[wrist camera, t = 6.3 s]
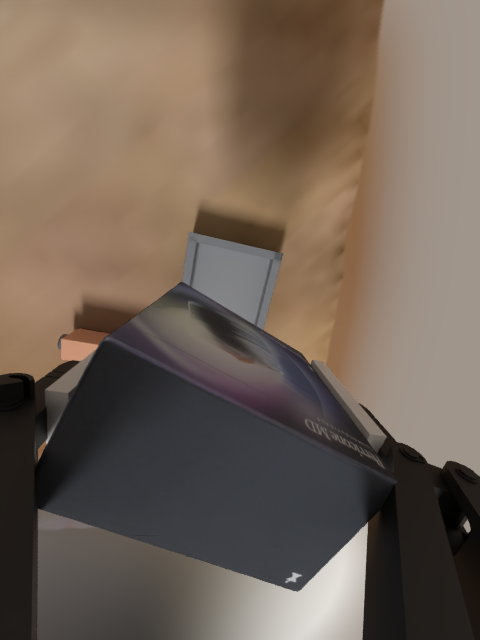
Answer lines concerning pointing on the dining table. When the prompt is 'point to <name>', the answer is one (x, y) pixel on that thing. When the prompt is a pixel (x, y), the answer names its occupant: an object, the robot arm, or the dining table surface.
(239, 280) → the tray
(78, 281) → the dining table surface
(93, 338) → the bar
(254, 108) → the dining table surface
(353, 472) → the small box
